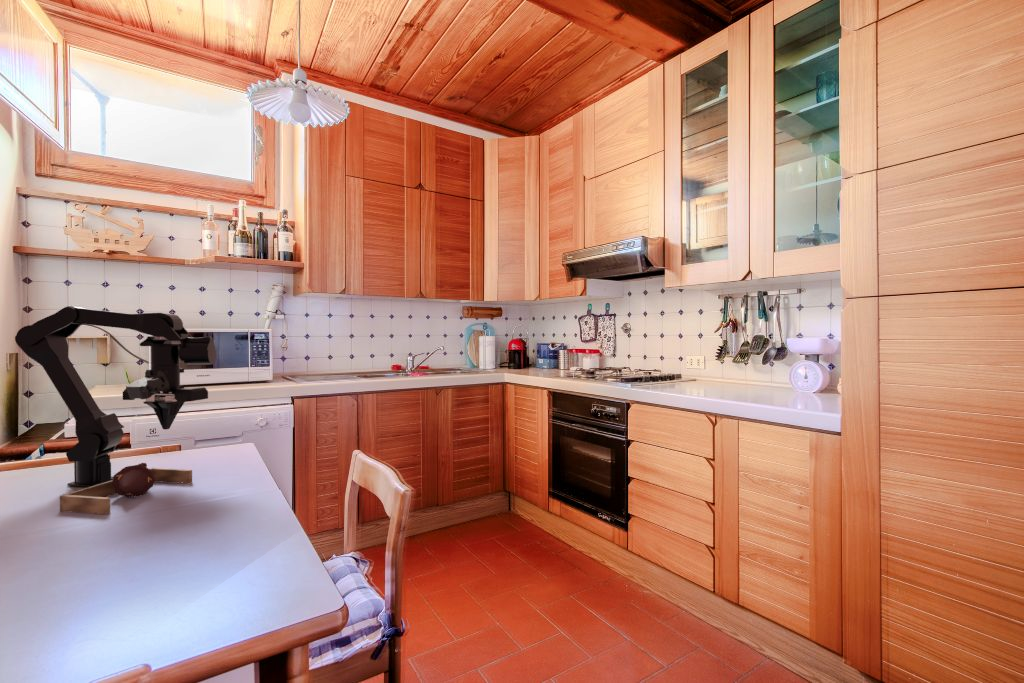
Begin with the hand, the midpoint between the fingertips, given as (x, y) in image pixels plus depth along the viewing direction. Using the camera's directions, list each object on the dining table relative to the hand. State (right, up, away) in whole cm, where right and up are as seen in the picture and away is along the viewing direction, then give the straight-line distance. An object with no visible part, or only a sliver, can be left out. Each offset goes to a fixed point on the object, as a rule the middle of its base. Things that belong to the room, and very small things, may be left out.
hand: (166, 429), depth 117 cm
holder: (+2, -12, -12) cm, 17 cm away
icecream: (+2, -13, -12) cm, 17 cm away
